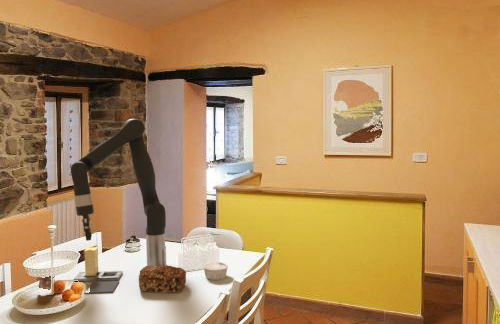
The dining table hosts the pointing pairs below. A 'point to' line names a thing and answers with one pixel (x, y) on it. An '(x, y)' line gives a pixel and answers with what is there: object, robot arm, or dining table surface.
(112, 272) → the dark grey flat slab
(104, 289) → the rubber mat
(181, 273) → the bread
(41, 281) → the figurine
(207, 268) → the ramekin
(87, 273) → the pale yellow block
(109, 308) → the dining table surface
